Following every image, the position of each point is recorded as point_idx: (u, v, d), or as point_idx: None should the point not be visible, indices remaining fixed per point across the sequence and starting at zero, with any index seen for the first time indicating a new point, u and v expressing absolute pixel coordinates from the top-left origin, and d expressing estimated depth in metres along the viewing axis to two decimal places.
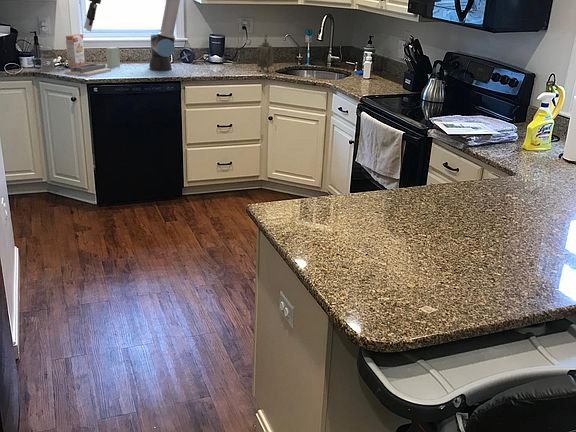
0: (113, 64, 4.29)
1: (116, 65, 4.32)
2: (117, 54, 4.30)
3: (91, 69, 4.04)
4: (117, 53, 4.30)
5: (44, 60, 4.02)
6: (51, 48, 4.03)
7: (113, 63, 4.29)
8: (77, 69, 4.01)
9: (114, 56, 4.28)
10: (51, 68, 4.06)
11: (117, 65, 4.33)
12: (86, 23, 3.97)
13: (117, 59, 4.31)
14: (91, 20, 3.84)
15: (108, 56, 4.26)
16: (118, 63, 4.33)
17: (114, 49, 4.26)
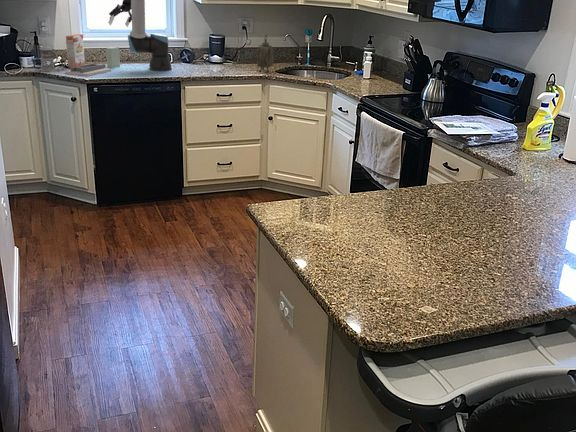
0: (113, 64, 4.29)
1: (116, 65, 4.32)
2: (117, 54, 4.30)
3: (91, 69, 4.04)
4: (117, 53, 4.30)
5: (44, 60, 4.02)
6: (51, 48, 4.03)
7: (113, 63, 4.29)
8: (77, 69, 4.01)
9: (114, 56, 4.28)
10: (51, 68, 4.06)
11: (117, 65, 4.33)
12: None
13: (117, 59, 4.31)
14: None
15: (108, 56, 4.26)
16: (118, 63, 4.33)
17: (114, 49, 4.26)
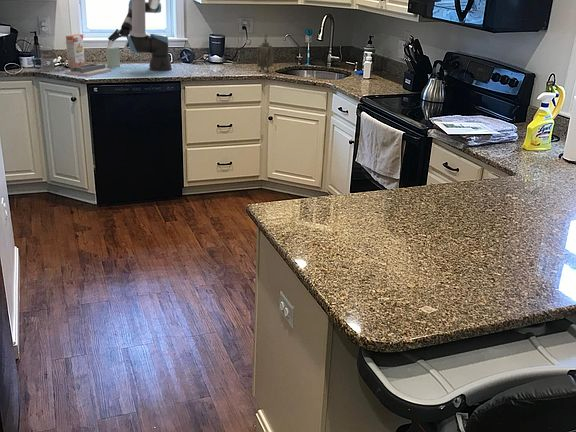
0: (113, 64, 4.29)
1: (116, 65, 4.32)
2: (117, 54, 4.30)
3: (91, 69, 4.04)
4: (117, 53, 4.30)
5: (44, 60, 4.02)
6: (51, 48, 4.03)
7: (113, 63, 4.29)
8: (77, 69, 4.01)
9: (114, 56, 4.28)
10: (51, 68, 4.06)
11: (117, 65, 4.33)
12: None
13: (117, 59, 4.31)
14: None
15: (108, 56, 4.26)
16: (118, 63, 4.33)
17: (114, 49, 4.27)
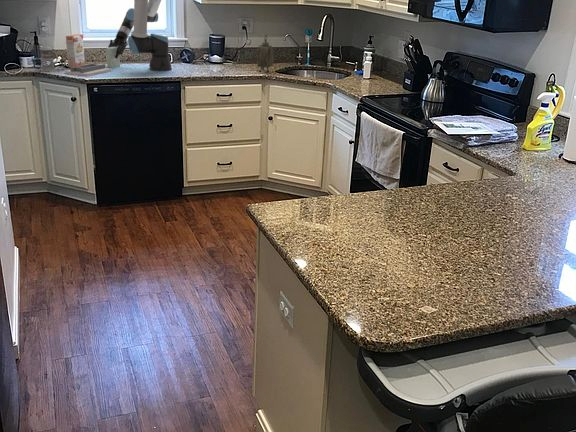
0: (113, 64, 4.29)
1: (116, 65, 4.32)
2: None
3: (91, 69, 4.04)
4: None
5: (44, 60, 4.02)
6: (51, 48, 4.03)
7: None
8: (77, 69, 4.01)
9: None
10: (51, 68, 4.06)
11: (117, 65, 4.33)
12: None
13: (117, 59, 4.31)
14: None
15: (108, 56, 4.26)
16: (118, 63, 4.33)
17: (114, 49, 4.26)
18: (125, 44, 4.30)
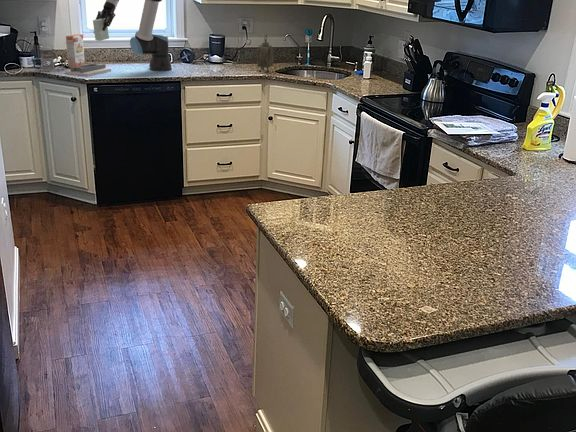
0: (101, 37, 4.19)
1: (104, 37, 4.21)
2: None
3: (91, 69, 4.04)
4: None
5: (44, 60, 4.02)
6: (51, 48, 4.03)
7: (101, 35, 4.18)
8: (77, 69, 4.01)
9: None
10: (51, 68, 4.06)
11: (106, 37, 4.23)
12: None
13: (105, 31, 4.21)
14: None
15: (95, 29, 4.16)
16: (107, 35, 4.23)
17: (101, 21, 4.16)
18: (112, 15, 4.19)
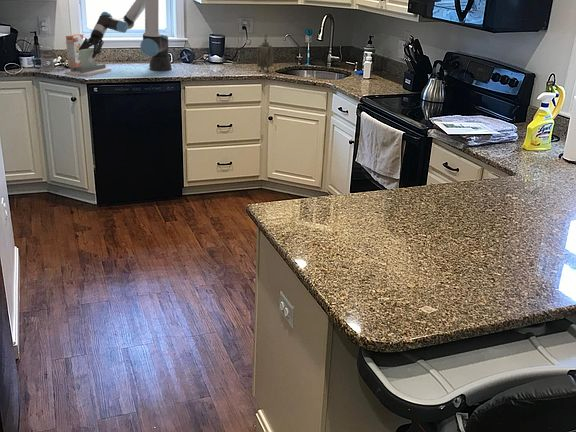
0: None
1: None
2: None
3: (91, 69, 4.04)
4: None
5: (44, 60, 4.02)
6: (51, 48, 4.03)
7: (88, 65, 4.05)
8: (77, 69, 4.01)
9: None
10: (51, 68, 4.06)
11: None
12: None
13: (92, 62, 4.08)
14: None
15: (82, 58, 4.02)
16: None
17: (89, 51, 4.03)
18: (101, 43, 4.06)
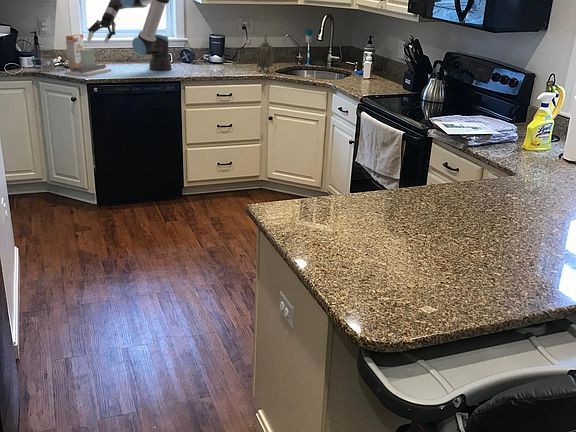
0: None
1: None
2: (92, 56, 4.07)
3: (91, 69, 4.04)
4: (92, 55, 4.06)
5: (44, 60, 4.02)
6: (51, 48, 4.03)
7: (88, 65, 4.05)
8: (77, 69, 4.01)
9: (89, 59, 4.04)
10: (51, 68, 4.06)
11: None
12: None
13: (92, 62, 4.08)
14: (90, 32, 4.16)
15: (82, 58, 4.02)
16: None
17: (89, 51, 4.03)
18: (114, 24, 4.14)
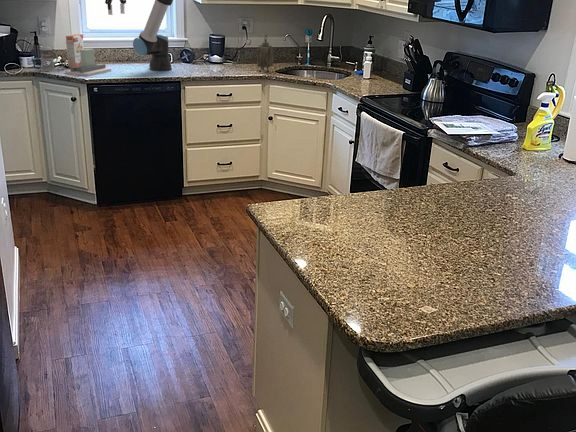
0: None
1: None
2: (92, 56, 4.07)
3: (91, 69, 4.04)
4: (92, 55, 4.06)
5: (44, 60, 4.02)
6: (51, 48, 4.03)
7: (88, 65, 4.05)
8: (77, 69, 4.01)
9: (89, 59, 4.04)
10: (51, 68, 4.06)
11: None
12: (121, 8, 4.27)
13: (92, 62, 4.08)
14: (108, 4, 4.12)
15: (82, 58, 4.02)
16: None
17: (89, 51, 4.03)
18: None
